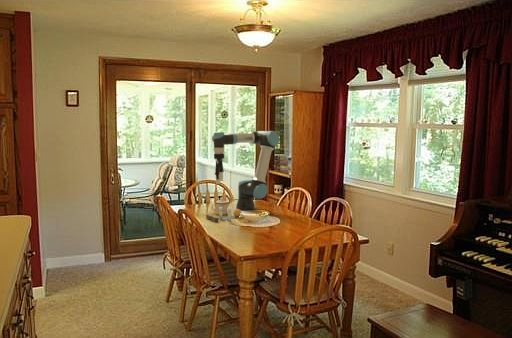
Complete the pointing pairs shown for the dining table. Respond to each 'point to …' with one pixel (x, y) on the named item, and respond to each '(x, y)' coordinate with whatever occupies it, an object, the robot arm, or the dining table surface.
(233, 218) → the lane mark
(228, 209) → the pin
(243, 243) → the dining table surface
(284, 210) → the dining table surface
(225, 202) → the teacup with lid
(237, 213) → the ball
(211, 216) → the back wall
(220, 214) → the pin
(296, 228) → the dining table surface
